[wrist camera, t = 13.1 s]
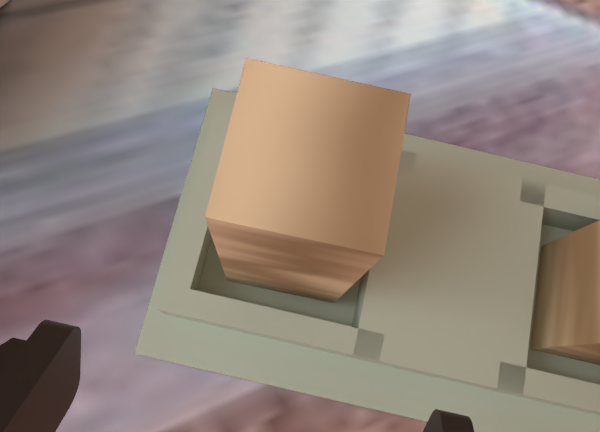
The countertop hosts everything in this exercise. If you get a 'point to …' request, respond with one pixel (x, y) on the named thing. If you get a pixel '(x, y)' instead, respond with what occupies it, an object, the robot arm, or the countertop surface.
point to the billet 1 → (305, 180)
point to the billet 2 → (569, 297)
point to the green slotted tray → (395, 296)
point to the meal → (3, 2)
